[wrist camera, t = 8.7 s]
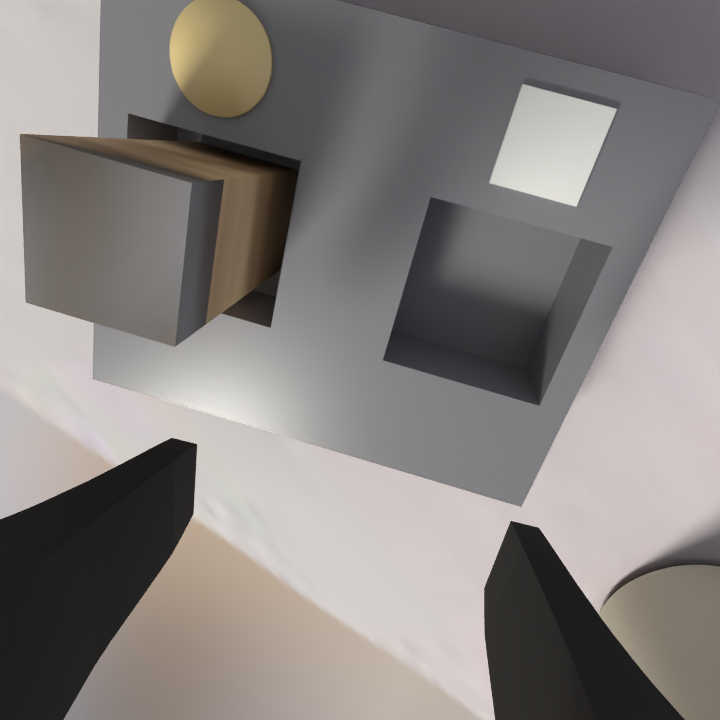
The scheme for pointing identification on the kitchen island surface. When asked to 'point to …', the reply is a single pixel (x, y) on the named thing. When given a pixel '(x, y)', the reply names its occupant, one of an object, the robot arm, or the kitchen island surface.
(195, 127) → the socket block
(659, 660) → the travel mug
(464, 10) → the kitchen island surface
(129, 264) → the plug
